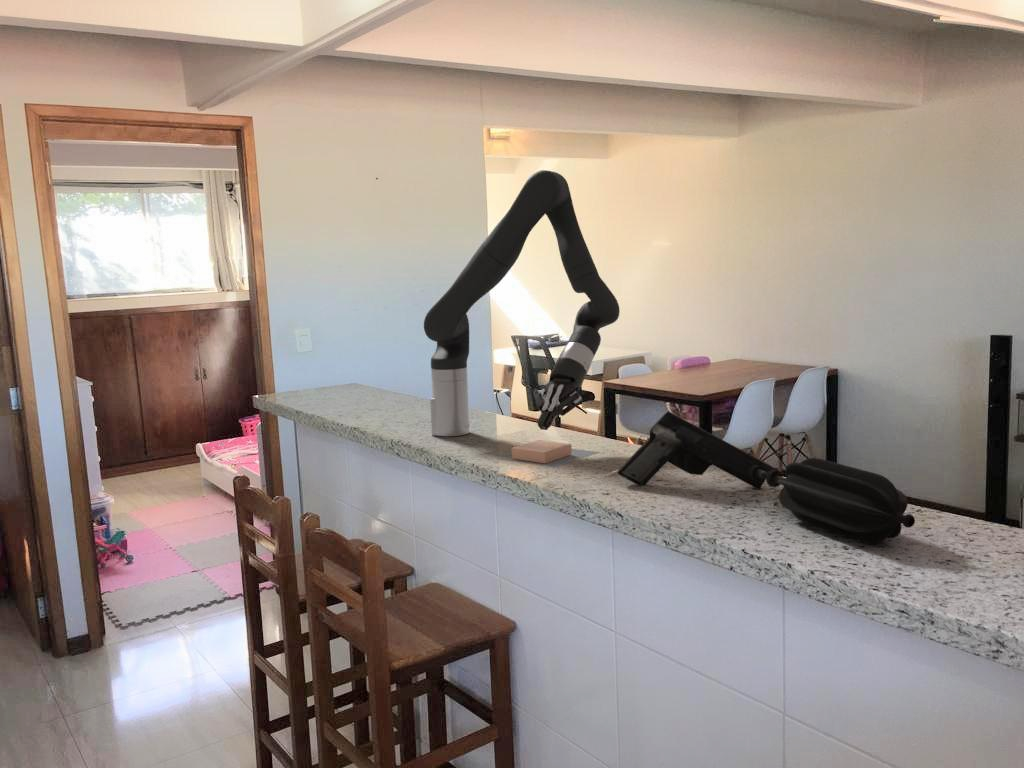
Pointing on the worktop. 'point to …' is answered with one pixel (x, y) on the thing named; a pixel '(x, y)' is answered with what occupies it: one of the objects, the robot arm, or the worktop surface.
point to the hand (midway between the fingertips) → (542, 427)
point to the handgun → (688, 453)
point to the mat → (575, 456)
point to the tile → (541, 451)
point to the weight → (840, 499)
